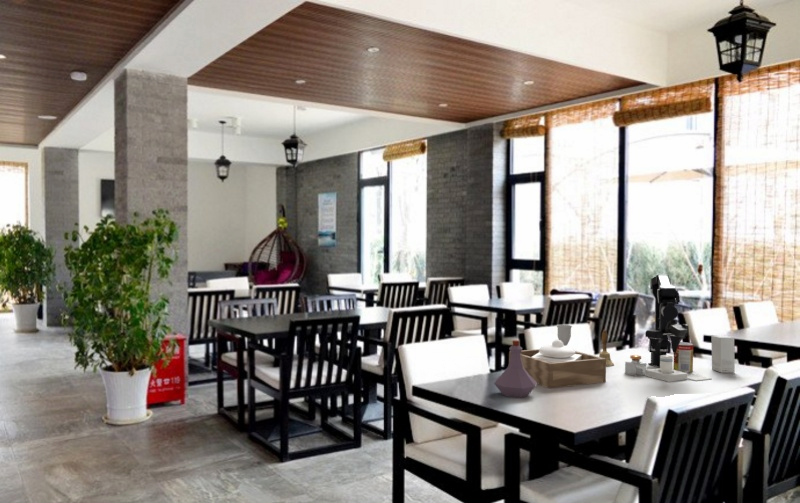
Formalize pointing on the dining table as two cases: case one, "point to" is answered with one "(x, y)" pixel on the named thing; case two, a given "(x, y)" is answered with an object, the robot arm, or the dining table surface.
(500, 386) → the flask
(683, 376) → the white flat block
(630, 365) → the plunger block
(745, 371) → the dining table surface
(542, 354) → the butter dish
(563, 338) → the chalice
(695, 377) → the mat
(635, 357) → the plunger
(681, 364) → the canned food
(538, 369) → the wooden tray box
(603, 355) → the hand bell
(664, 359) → the white cylinder
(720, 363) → the skincare box
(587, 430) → the dining table surface
